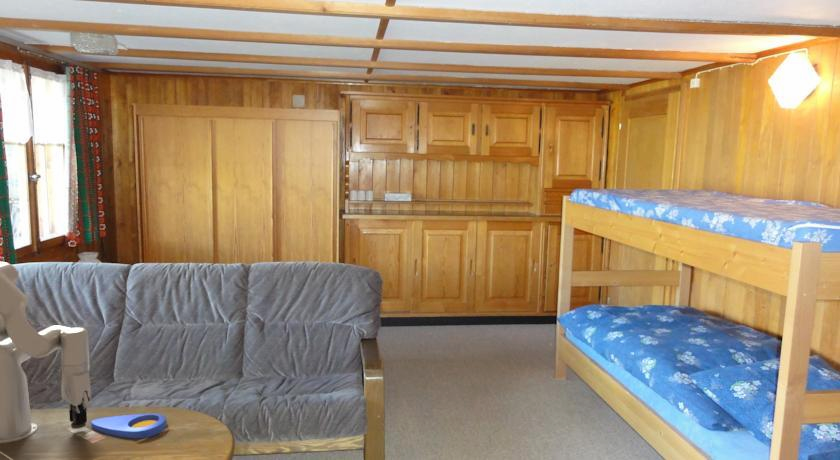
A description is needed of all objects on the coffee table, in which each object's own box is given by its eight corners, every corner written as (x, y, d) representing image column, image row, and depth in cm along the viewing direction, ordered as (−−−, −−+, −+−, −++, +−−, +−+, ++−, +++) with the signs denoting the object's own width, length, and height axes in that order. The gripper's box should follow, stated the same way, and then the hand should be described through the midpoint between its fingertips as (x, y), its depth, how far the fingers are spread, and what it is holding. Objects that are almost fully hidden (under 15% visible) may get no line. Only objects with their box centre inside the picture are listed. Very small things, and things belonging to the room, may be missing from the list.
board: (64, 431, 193) (64, 429, 193) (80, 425, 197) (80, 423, 197) (91, 445, 184) (91, 443, 183) (107, 439, 188) (107, 437, 188)
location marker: (79, 438, 190) (152, 441, 186) (77, 428, 189) (151, 431, 186) (105, 420, 202) (174, 422, 199) (104, 410, 202) (173, 412, 199)
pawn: (68, 426, 190) (67, 401, 189) (81, 421, 194) (80, 397, 193) (75, 429, 188) (74, 405, 187) (88, 425, 192) (87, 400, 190)
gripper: (50, 364, 190) (53, 418, 192) (76, 376, 181) (79, 433, 183) (75, 357, 196) (77, 410, 198) (101, 369, 187) (103, 424, 189)
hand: (78, 421), depth 191 cm, fingers closed on pawn, 3 cm apart
